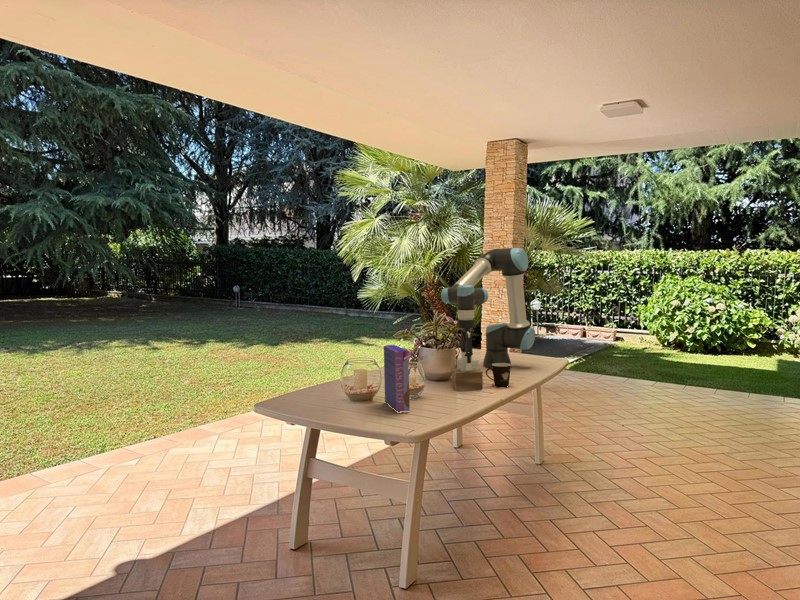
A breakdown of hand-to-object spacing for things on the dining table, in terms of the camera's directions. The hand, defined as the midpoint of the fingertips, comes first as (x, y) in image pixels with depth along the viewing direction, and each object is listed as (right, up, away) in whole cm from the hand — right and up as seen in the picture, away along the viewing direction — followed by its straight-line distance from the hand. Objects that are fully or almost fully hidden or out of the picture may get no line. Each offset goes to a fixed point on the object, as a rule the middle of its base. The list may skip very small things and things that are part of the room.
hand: (466, 368), depth 254 cm
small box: (+1, -1, 0) cm, 1 cm away
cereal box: (-32, -12, -33) cm, 47 cm away
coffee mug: (+15, -9, +2) cm, 17 cm away
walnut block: (0, -9, 0) cm, 9 cm away
